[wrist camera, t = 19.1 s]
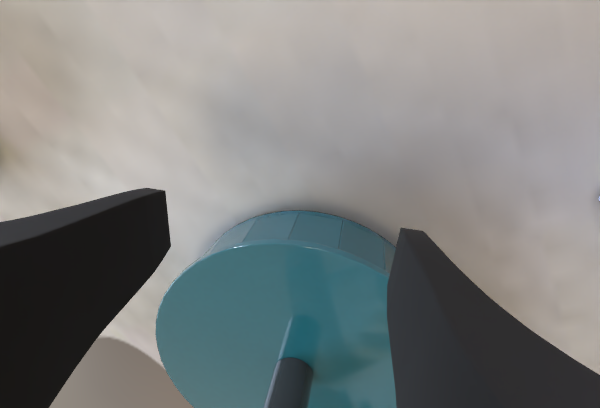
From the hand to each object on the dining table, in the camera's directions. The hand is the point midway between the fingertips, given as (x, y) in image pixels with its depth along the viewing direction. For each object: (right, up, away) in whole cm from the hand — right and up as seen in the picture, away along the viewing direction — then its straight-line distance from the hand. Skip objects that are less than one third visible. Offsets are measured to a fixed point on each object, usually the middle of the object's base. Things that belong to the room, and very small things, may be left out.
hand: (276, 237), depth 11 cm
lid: (+1, -9, +11) cm, 14 cm away
